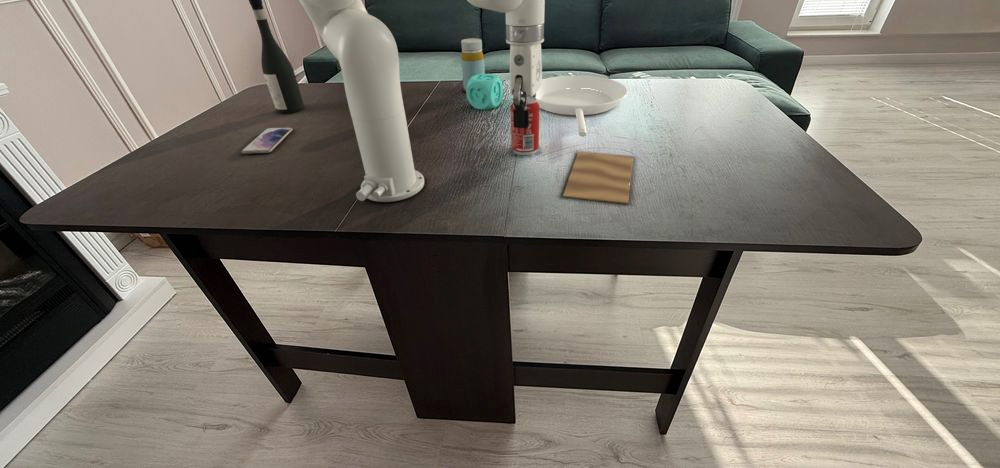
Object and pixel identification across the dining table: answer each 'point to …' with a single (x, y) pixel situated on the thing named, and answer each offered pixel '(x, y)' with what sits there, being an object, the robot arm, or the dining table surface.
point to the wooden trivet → (600, 177)
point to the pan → (579, 96)
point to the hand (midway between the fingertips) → (525, 120)
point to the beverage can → (526, 130)
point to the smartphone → (267, 140)
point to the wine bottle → (277, 67)
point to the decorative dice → (484, 91)
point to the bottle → (471, 59)
